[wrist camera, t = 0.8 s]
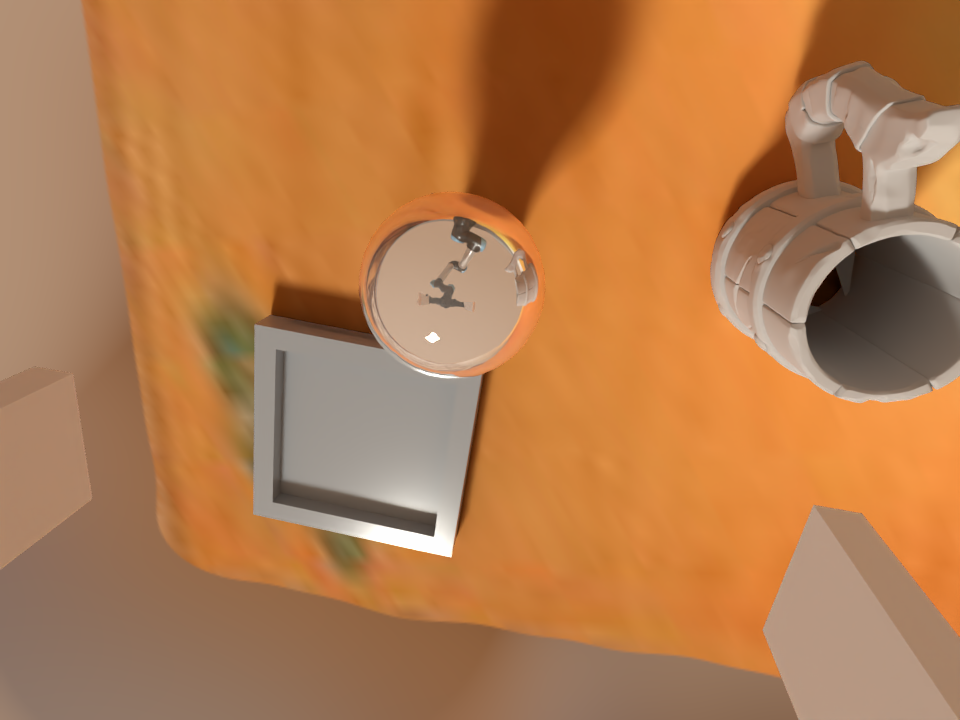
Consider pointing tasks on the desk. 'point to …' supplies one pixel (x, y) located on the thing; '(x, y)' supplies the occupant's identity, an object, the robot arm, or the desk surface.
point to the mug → (851, 246)
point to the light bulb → (452, 285)
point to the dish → (358, 437)
